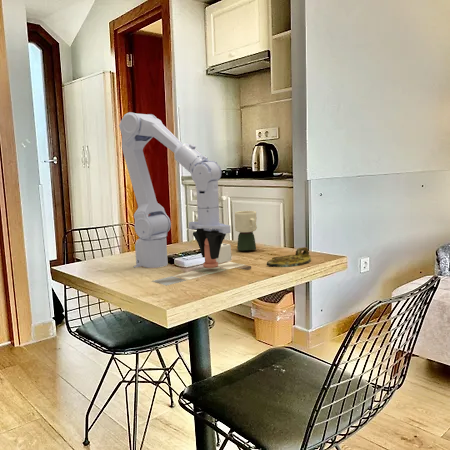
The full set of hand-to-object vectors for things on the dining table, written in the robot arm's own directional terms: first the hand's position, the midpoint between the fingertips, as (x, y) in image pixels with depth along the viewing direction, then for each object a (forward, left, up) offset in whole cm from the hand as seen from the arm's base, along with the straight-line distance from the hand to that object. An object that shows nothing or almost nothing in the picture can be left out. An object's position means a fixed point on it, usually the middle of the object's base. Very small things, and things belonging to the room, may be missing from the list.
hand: (210, 257), depth 128 cm
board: (0, -4, -4) cm, 6 cm away
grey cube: (-10, +12, -4) cm, 17 cm away
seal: (+9, +23, -5) cm, 25 cm away
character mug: (-14, +28, -5) cm, 32 cm away
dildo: (0, 0, -2) cm, 2 cm away
